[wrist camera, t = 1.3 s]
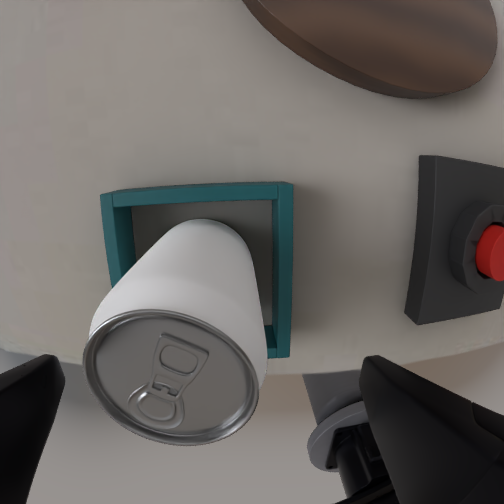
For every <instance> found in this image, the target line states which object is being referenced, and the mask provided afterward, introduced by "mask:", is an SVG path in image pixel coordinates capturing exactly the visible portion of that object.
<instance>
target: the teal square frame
mask: <svg viewBox="0 0 504 504" xmlns="http://www.w3.org/2000/svg"><path fill="white" fill-rule="evenodd" d="M238 200H272V244H273V291H272V326H264V331H265V337H266V345H267V359H269V358H286V357H289V356H290V334H291V308H292V273H293V184H290V183H287V182H237V183H211V184H191V185H174V186H160V187H147V188H135V189H124V190H117V191H113V192H109V193H105V194H101V195H100V201H101V212H102V222H103V231H104V239H105V247H106V254H107V261H108V267H109V274H110V280H111V285H112V288H113V287H114V286H115V285H116V284H117V283H118V282H119V281H120V280H121V278H122V277H123V276H124V275H125V274H126V273H127V272H128V271H129V270H130V269H131V268H132V267H133V266H134V265H135V264H136V255H135V246H134V237H133V228H132V217H131V206H140V205H155V204H171V203H189V202H211V201H238Z"/></svg>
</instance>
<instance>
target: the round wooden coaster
mask: <svg viewBox="0 0 504 504" xmlns="http://www.w3.org/2000/svg"><path fill="white" fill-rule="evenodd" d="M243 2H244V3H245V5H246V6H247V7H248V9H249V10H250V12H251V13H252V14H253V15H254V16H255V17H256V19H257V20H258V21H259V22H260V23H261V24H262V25H263V26H264V27H265V28H266V29H267V30H268V31H269V32H270V33H271V34H272V35H273V36H275V37H276V38H277V39H278V40H279V41H280V42H281V43H283V44H284V45H285V46H287V47H288V48H289V49H291V50H292V51H293V52H295V53H296V54H297V55H299V56H301V57H302V58H304V59H305V60H307V61H308V62H310V63H311V64H313V65H315V66H316V67H318V68H320V69H322V70H324V71H326V72H327V73H329V74H331V75H333V76H335V77H337V78H339V79H342V80H344V81H346V82H349V83H351V84H353V85H355V86H358V87H361V88H364V89H367V90H370V91H373V92H376V93H381V94H385V95H389V96H393V97H402V98H410V99H413V98H430V97H436V96H441V95H445V94H449V93H453V92H457V91H460V90H463V89H466V88H469V87H471V86H472V85H474V84H475V83H477V82H479V81H480V80H481V79H482V78H483V77H484V76H485V75H486V74H487V72H488V70H489V69H490V67H491V65H492V63H493V60H494V57H495V55H496V48H497V27H496V20H495V16H494V12H493V9H492V6H491V3H490V1H489V0H243Z"/></svg>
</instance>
